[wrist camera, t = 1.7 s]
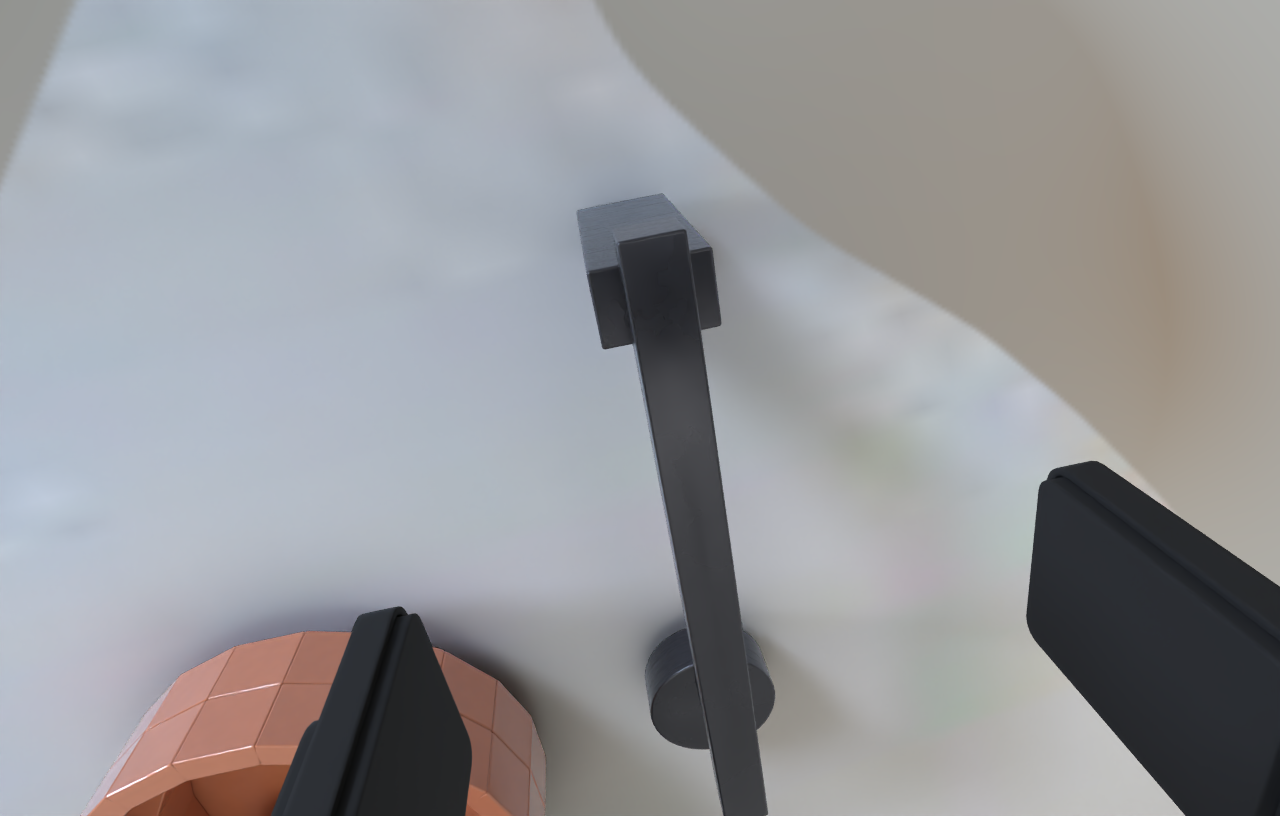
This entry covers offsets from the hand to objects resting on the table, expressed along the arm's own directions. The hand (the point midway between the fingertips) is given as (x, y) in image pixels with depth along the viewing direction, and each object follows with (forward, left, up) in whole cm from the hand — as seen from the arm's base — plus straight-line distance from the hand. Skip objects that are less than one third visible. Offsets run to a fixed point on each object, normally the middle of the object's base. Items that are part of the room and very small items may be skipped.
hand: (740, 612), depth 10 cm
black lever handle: (+5, 0, -11) cm, 13 cm away
